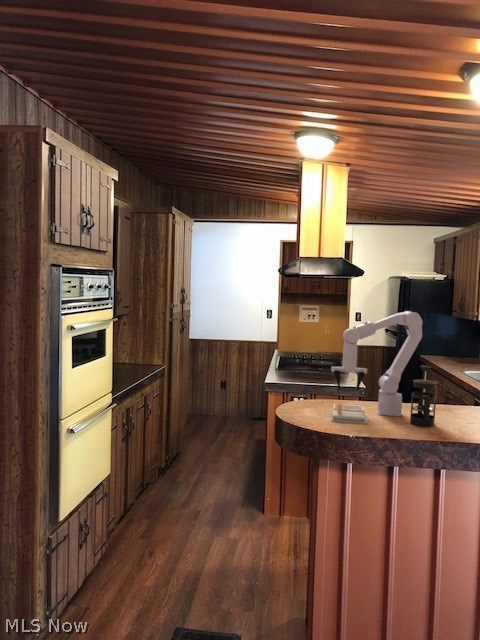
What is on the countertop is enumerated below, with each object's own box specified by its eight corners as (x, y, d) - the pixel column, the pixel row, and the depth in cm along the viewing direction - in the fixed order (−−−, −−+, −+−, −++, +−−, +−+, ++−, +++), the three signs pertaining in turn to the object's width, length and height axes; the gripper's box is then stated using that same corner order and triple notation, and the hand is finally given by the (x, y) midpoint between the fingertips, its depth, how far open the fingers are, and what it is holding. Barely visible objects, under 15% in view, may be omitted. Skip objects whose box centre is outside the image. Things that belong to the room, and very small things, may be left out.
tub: (362, 411, 226) (362, 405, 226) (363, 416, 219) (363, 410, 218) (333, 409, 228) (333, 403, 228) (333, 414, 220) (334, 408, 220)
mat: (366, 417, 216) (366, 416, 216) (368, 424, 207) (368, 422, 207) (331, 415, 219) (331, 413, 218) (331, 421, 209) (331, 419, 209)
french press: (406, 419, 216) (410, 363, 214) (430, 421, 215) (434, 364, 213) (413, 427, 204) (417, 368, 202) (438, 429, 203) (443, 369, 201)
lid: (362, 416, 216) (363, 402, 215) (364, 421, 208) (365, 407, 207) (332, 414, 217) (333, 400, 217) (333, 419, 210) (333, 405, 209)
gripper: (332, 357, 221) (330, 390, 222) (368, 359, 219) (366, 392, 220) (331, 355, 228) (330, 386, 229) (366, 357, 226) (365, 389, 227)
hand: (348, 389), depth 225 cm, fingers open, 7 cm apart
